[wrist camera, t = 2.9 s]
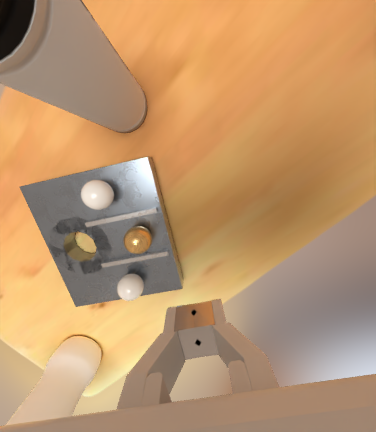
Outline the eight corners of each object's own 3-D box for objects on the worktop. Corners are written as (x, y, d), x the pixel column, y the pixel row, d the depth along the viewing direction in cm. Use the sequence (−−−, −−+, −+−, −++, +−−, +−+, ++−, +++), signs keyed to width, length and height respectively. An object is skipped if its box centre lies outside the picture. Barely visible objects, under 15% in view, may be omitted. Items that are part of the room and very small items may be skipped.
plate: (151, 157, 24) (145, 156, 21) (183, 278, 29) (182, 292, 26) (35, 184, 25) (13, 187, 22) (85, 295, 31) (72, 310, 27)
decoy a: (142, 266, 26) (135, 282, 23) (149, 287, 27) (143, 304, 24) (119, 270, 26) (108, 286, 23) (127, 290, 27) (117, 308, 24)
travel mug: (99, 134, 23) (-322, 4, 4) (95, 74, 22) (-675, -634, 2) (147, 138, 23) (-56, 25, 4) (147, 78, 22) (-210, -604, 2)
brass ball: (150, 220, 24) (144, 229, 21) (157, 243, 25) (152, 256, 22) (125, 225, 24) (114, 235, 21) (133, 248, 25) (124, 261, 22)
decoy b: (113, 175, 22) (99, 178, 19) (122, 202, 23) (110, 209, 20) (87, 181, 23) (68, 185, 19) (96, 208, 24) (81, 216, 20)
